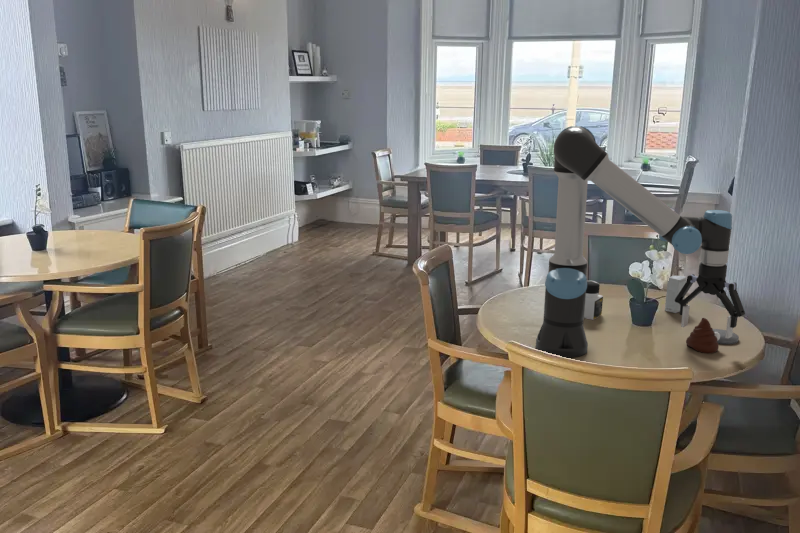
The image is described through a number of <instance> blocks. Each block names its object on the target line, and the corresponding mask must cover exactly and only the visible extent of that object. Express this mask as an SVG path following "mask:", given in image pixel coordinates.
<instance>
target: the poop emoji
mask: <svg viewBox="0 0 800 533" xmlns="http://www.w3.org/2000/svg"><path fill="white" fill-rule="evenodd" d="M713 329H714V328H713V327H712V326H711V323H710V321H709V320H708V319H707V318H705V317H701V320H700V322H699V323H698V325H696V326H694V328H693V330H692V331H691V332H690V334H689V336H688V337H687V338H686V340H685V343H686V346H688V348H692V349H693V350H695V351H696V352H699V353H702V354H712V353H716V352H717V351H718V350H719V347H720V346H719V344H718V342H717V341H718V340H719V339H720V334H719V333H718V332H714V331H713Z"/></svg>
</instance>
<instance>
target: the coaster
mask: <svg viewBox="0 0 800 533" xmlns="http://www.w3.org/2000/svg"><path fill="white" fill-rule="evenodd" d="M712 329H713V331H714V332H718V333H719V334H720V339H719V340H718V341H717V342H718V345H735V344H737V343H739V335H738V334H737V333H735V332H732V337H730V338H725V337H726V329H720V328H719V329H718V328H712Z"/></svg>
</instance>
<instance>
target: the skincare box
mask: <svg viewBox="0 0 800 533" xmlns="http://www.w3.org/2000/svg"><path fill="white" fill-rule="evenodd" d="M669 277H670V278H669ZM669 277H668V278H669V281H668V280H667V284H666V294H665V303H664V304H665V307H664V311H666V312H670V313H674V314H677V313H680V304H679V303H677V302H675V298H676V297H677V295H678V294H679V292H680V291H681V289H682V288H683V286H684V285H685V283H686V281H687V277H686V276H684V275H683V276H682V275H676V274H675V275H672V276H669ZM685 298H686V295H685V296H684V298H683V300H684V299H685Z"/></svg>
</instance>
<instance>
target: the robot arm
mask: <svg viewBox="0 0 800 533" xmlns="http://www.w3.org/2000/svg"><path fill="white" fill-rule="evenodd" d="M553 155H554V162H553V163H554V164H553V172H554V173H555V175H556V176H557V178H558V183H557V184H558V185H557V198H556V199H557V202H556V220H555V222H556V223H555V234H554V235H555V237H554V238H555V239H554V253H553V255H551V256H550V258H549V259H548V273H547V274H546V278H545V282H544V285H545V291H544V306H543V321H542V324H541V327H540V330H539V331H538V334H537V336H536V339H535V340H536V341H535V348H536V350H538V349H539V350H542V351H546V352H548V353H552V354H556V355H560V356H563V357H562V358H577V357H582V356H584V355H586V354H587V352H588V346H589V345H588V344H589V343H588V340H587V336H586V331H585V327H584V320H585V318H584V310H585V298H586V289H587V281H588V280H587V279H588V278H587V277H588V274H587V273H588V260H587V259H586V258H585V256H584V254H583V253H584V246H585V244H584V243H585V242H584V241H585V230H586V229H585V228H586V212H587V200H588V198H587V197H588V182H589V181H590V182H592V183H593V184H594V185H596V186H597V187H598V188H599V189H601V190H602V191H603V192H605V193H606V195H608V196H610V198H611V199H613V200H615V201H616V202H617V203H618V204H620V206H622V207H623V208H625V209H626V210H627V211H628V212H630V213H631V214H632V215H634V216H635V217H636V218H638V220H640V221H641V222H642V223H644V224H645V225H646V226H648V227H649V228H650V229H651V230H653V231H654V232H655V233H657V234H658V238H659V240H660V241H662V242H667V243H669V244H670V245H671V246H672V247H673V249H674V250H676V251H677V252H678V253H679V254H684V255H690V254H693V253H696V252H697V251H698V250H699V249H700V254H699V261H700V262H699V264H698V272H697V273H698V275H695V274H693V273H692V274H690V275H689V274H688V275H687V277H686V283H685V285H684V286H683V288H682V289H681V291H680V292H679V294H678V295H677V297H676V298H675V302H677V303H679V304H680V312H679V315H680V316H681V325H680V327H681V328H685V327H687V326H688V325H689V316H690V306H691V305H690V304H689V303H690V302H691V301H692V300H693V299H694V298H696V297H697V296H698V295H699V294H701V293H703V294H709V295H711V296H714V295H715V296H716V297H717V298H718V299H719V300H720V302H721V303H722V305H723V306H724V309H725V310H726V311H727V313H728V314H729V316H727V320H726V329H725V330H726V337H725V338H730V337H732V332H733V331H734V328H736V327H737V324H738V318H741V317H743V316H745V315H746V312H745V309H744V306H743V303H742V300H741V298H740V295H739V292H738V290H737V289H738V288H737V286H738V284H737V282H735V281H734V282H727V280H726V278H727V272H728V265H727V264H728V260H729V252H730V245H731V244H730V242H731V235H732V229H733V227H732V225H733V215H732V213H731V212H730V211H727V210H721V209H708V210H706V211H705V212H704V213H703V214H704V215H703V216H700V217H699V216H698V217H696V216H681V214H680V213H679V214H678V213H677V211H675V210H673V209H672V208H671V207H670V206H668V205H667V204H666V203H665V202H664V201H662V199H660V198H659V197H657V196H656V195H655V194H653V193H652V192H651V191H650V190H648V189H647V188H646V187H645V186H643V185H642V184H641V183H639V182H638V181H637V180H636V179H634V178H633V177H632V176H631V175H630V174H628V173H627V172H626V171H624V170H623V169H622V168H620V167H619V166H618V165H616V164H615V162H613V161H612V160H610V158H609V154H608V152H606V151H605V150H604V149H603V148H602V147H600V146H599V144H598V143H597V142H596V137H595V135H594V134H593V132H592V131H591V130H590V129H589V128H586V127H585V126H580V125H571V126H569V127H565V128H564V129H563V130H561V131H560V132H559V134H558V135H557V136H556V139H555V141H554V144H553ZM694 283H697V284H698V286H697V287H696V288H695V289H694V290H693V291H692V292H690V294H687V293H688V291H690V289H691V287H692V286H693V284H694ZM725 288H726V289H727V290H726V291H728V293H729V296H730V298H729V296H728V295H727V292H726V291H725ZM686 295H687V296H686ZM684 296H685V298H684ZM683 298H684V300H683ZM733 333H734V332H733ZM539 350H538V351H539Z"/></svg>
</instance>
